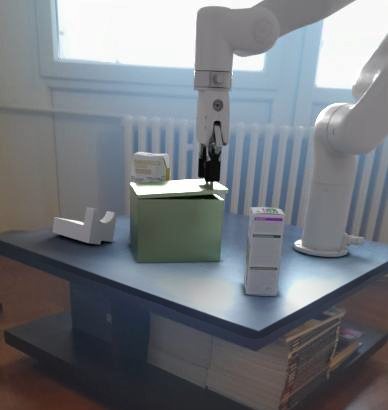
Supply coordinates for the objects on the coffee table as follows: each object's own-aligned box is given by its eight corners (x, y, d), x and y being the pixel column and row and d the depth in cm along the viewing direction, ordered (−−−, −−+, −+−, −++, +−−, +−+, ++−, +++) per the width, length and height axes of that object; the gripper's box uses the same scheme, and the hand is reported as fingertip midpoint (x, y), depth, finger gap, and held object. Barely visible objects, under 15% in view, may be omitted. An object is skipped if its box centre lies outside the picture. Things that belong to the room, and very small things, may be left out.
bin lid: (210, 182, 114) (210, 156, 111) (228, 193, 101) (228, 165, 98) (129, 186, 110) (127, 160, 108) (137, 198, 97) (135, 169, 95)
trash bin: (203, 243, 120) (207, 188, 114) (219, 261, 107) (224, 200, 101) (130, 244, 116) (129, 186, 110) (137, 262, 103) (137, 199, 97)
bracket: (111, 246, 117) (117, 213, 115) (88, 243, 111) (94, 208, 110) (75, 235, 124) (80, 204, 122) (52, 232, 118) (56, 199, 117)
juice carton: (162, 239, 121) (164, 156, 113) (128, 235, 123) (128, 153, 115) (170, 232, 128) (173, 153, 120) (138, 229, 129) (138, 150, 121)
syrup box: (277, 296, 89) (288, 214, 82) (244, 295, 89) (252, 212, 82) (273, 286, 94) (283, 207, 88) (242, 284, 94) (249, 205, 88)
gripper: (244, 82, 91) (237, 186, 99) (220, 84, 106) (215, 174, 114) (204, 81, 90) (200, 186, 98) (185, 82, 105) (183, 173, 113)
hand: (208, 178), depth 106 cm, fingers closed on bin lid, 5 cm apart
